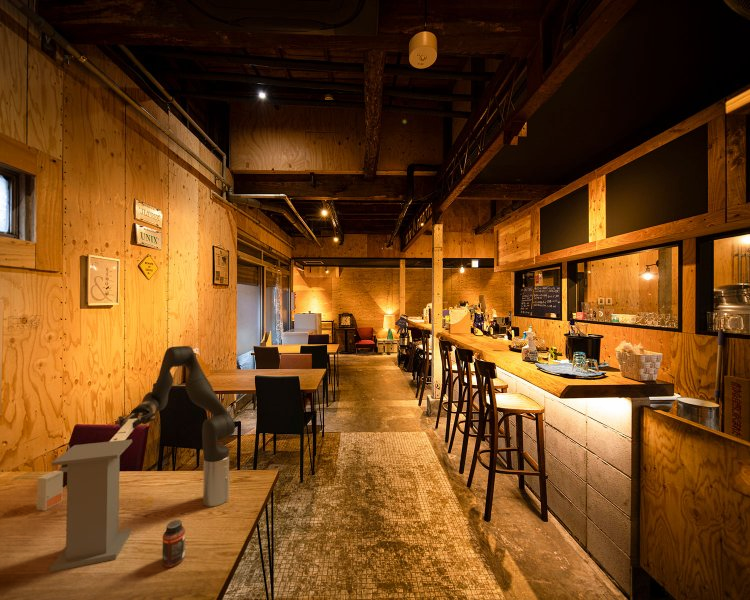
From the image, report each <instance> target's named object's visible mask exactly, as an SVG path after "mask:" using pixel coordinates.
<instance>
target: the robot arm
mask: <svg viewBox="0 0 750 600" xmlns="http://www.w3.org/2000/svg"><path fill="white" fill-rule="evenodd" d="M176 367H179V368H180V367H186V369H187V370H188V375H187V378H186V380H185V384H184V385H185V386H184V389H185V393H186V394H187V395H188V398H189V399H190V401H191V402H192V403H193V404H195V405H196V406H198V407H200V408H202V409H203V410H206V411H207V412H209V413H210V414H211V415H212V417H209V418H206V419H204V421H203V422H202V426H201V427H202V428H201V435H202V438H201V439H202V453H203V475H202V476H203V479H202V480H203V482H202V483H203V484H202V485H203V487H202V489H203V490H202V493H203V495H202V503H203V504H202V505H204V506H206V507H217V506H220V505H222V504H225V503H227V501H229V498H228V497H230V474H231V473H230V448H229V447H228V446H227V445H225V444H218V441H220V440H223V439H226V438H228V437H230V436H232V435H233V434H234V433H235V430H236V425H235V422H234V419H233V417H232V415H231V414H230V413H229V411H228V409H226V406H224V405H223V403H222V402H221V400H220V398H219V397H218V396H217V394H216V392H215V390H214V388H213V385H212V384H211V383H210V381H209V379H208V378H207V377H206V375H205V372H204V370H203V369H202V367H201V366H200V362H199V361H198V357H197V355H196V354H195V351H194V349H193V348H192V347H191V346H189V345H180V346H179V345H178V346H170V347H168V348H167V349H166V350H165V352H164V355H163V359H162V362H161V365H160V370H159V373H158V377H157V379H156V381H155V383H154V385H153V387H152V390H151V391H149V392H147V393H146V394H145V395H144V396H143V398H142V399H141V400H142V401H141V403H139V404H137V406H136V407H134V408H133V409H132V410H131V411H130V414H128V415H126V416H125V417H124V416H121V415H119V416H118V417H117V418H118V419H117V421H118V422H117V423H118V426H119V427H120V429H121V428H122V426H123V425H124V424H125V423H126V422H127V421H128V420H129V419H136V418H138V419H137V420H135V421H134V422H133V428H134V429H136V428H137V427H139V426H141V425H146V424H148V423H150V422H153V421H155V420H156V413H155V412H157V411H162V410H164V409H165V408H166V407H167V405H168V403H169V402H168V401H169V393H170V390H171V389H172V386H173V384H174V377H173V375H172V372H171V370H172V368H176Z"/></svg>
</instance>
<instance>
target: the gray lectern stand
mask: <svg viewBox="0 0 750 600" xmlns="http://www.w3.org/2000/svg"><path fill="white" fill-rule="evenodd" d="M132 443H133V439H126V440H121V441H111V442H109V441H103V442H94V443H93V442H92V443H84V444H75V445H73V446H71V447H69V448H70V449H69V450H68V449H67V450H66V451H65V452H64V453H62V454H61V455H59V457H56V459H54V460H53V461H52V462H51V466H62V465H64V464H67V485H66V522H65V523H66V526H65V527H66V529H65V531H66V532H65V533H66V534H65V547H64V549H63V550H62V552H61V553H60V554H59V555H58V557H57V558H56V559H55V560H54V561H53V563H52V564H51V565H50V566H49V573H53V572H59V571H63V570H68V569H74V568H78V567H84V566H89V565H93V564H99V563H104V562H109V561H114V560H116V559H117V558H118V556H119V554H120V553H121V551H122V549H123V547H124V545H125V544H126V543H127V540H128V538H129V537H130V535H131V532H132V531H131V530H132V529H131V528H127V529H122V530H121V529H120V530H119V523H120V522H119V521H120V519H119V518H120V517H119V516H120V514H119V511H120V466H121V465H120V463H121V462H120V459H121V455H122V454H123V453H124V452H125V450H127V449H128V447H129V446H130V445H131V444H132Z"/></svg>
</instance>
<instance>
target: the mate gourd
mask: <svg viewBox="0 0 750 600" xmlns="http://www.w3.org/2000/svg"><path fill="white" fill-rule="evenodd" d="M66 445H67V446H66V447H67V450H69V449H70V448H71V447H70V445H69V444H66ZM58 471H63V488H65V487H67V464H63V465H60V467H59V468H58Z"/></svg>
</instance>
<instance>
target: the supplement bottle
mask: <svg viewBox="0 0 750 600" xmlns="http://www.w3.org/2000/svg"><path fill="white" fill-rule="evenodd" d="M182 523H183V522H182V520H180V519H174V520H172V521H170V522H169V523H167V524H166V530H165V531H164V532H163V534H162V566H164V567H165V568H173V567H175V566H177V565H179V564H180V563H182V562H183V561H184V559H185V557H186V528H185V526H183V524H182Z"/></svg>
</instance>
